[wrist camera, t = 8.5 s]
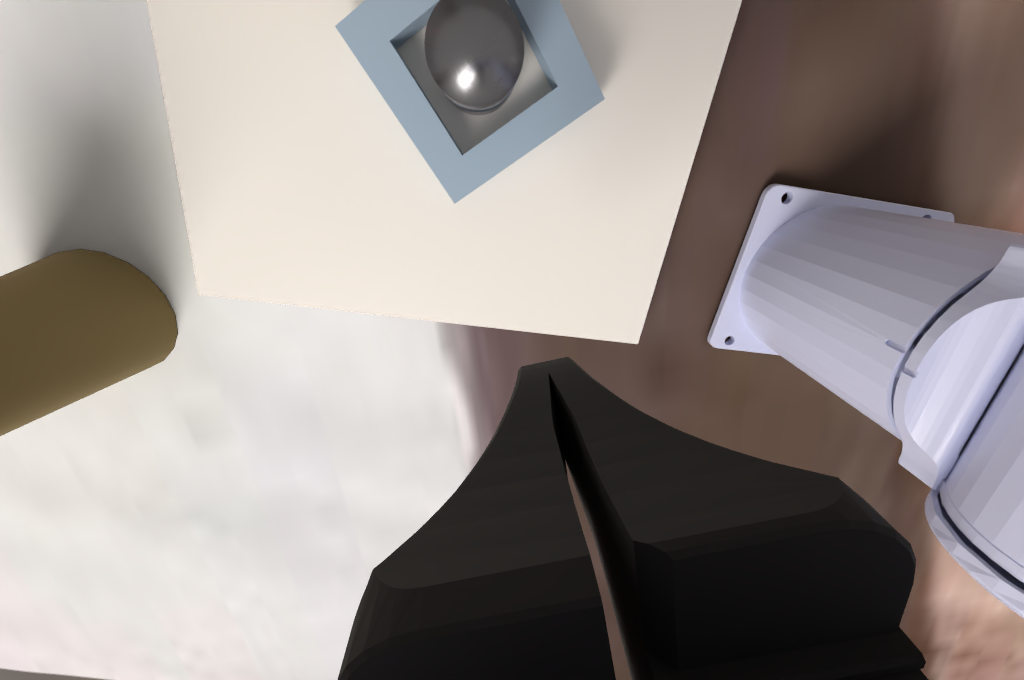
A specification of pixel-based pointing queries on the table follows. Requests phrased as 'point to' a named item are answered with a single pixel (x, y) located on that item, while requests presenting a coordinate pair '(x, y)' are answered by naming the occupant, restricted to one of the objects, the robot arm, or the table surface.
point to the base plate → (410, 181)
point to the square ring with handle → (374, 41)
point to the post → (474, 52)
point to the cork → (76, 331)
